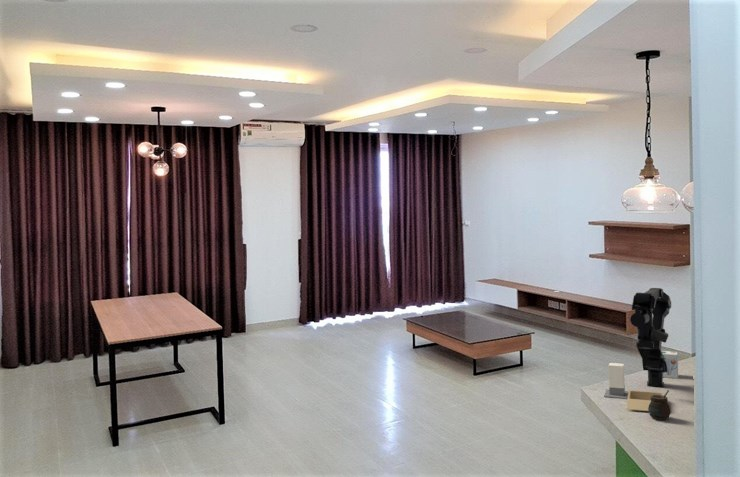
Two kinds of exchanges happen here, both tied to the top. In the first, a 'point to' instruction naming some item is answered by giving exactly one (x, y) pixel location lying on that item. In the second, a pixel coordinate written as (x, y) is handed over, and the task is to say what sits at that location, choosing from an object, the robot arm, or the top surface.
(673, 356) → the light bulb box
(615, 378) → the box
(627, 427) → the top surface
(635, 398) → the tan rectangular open frame
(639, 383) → the top surface
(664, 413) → the mate gourd
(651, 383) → the robot arm
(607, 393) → the mat
